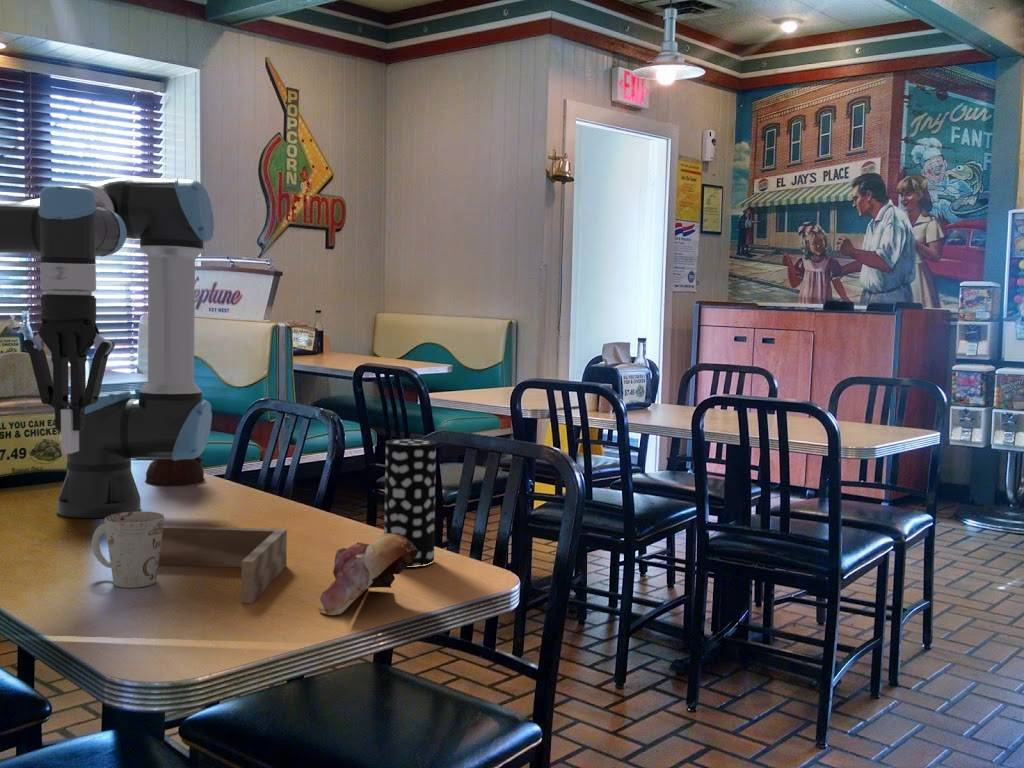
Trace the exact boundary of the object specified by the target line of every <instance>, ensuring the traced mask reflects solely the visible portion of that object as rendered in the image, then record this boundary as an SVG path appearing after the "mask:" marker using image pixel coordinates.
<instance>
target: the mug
mask: <svg viewBox="0 0 1024 768" xmlns="http://www.w3.org/2000/svg"><path fill="white" fill-rule="evenodd" d="M164 521H165V515H164V514H162V513H161V512H160V513H159V512H156V511H141V510H139V511H137V512H124V513H117V514H113V515H109V516H107V517H106V518H104V523H102V524H100V525H98V527H97V528H96V529H95V530H94V532H93V535H92V537H91V549H92V553H93V556H94V557H95V558H96V559H97V561H98V562H100V564H101V565H102V566H104V567H105V568H109V569H111V576H112V582H113V585H114V586H115V587H118V588H123V589H124V588H125V589H135V588H142V587H144V588H145V587H149V586H152V585H154V584H156V582H157V579H158V578H157V577H158V571H159V565H158V564H159V556H160V548H161V541H162V533H163V526H165V525H164V524H165V522H164ZM104 534H106V541H107V547H108V554H109V555H108V556H109V560H108V559H106V557H104V555H103V554H102V552H101V548H100V541H101V540H100V539H101V538H102V536H103V535H104Z"/></svg>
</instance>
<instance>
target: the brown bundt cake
mask: <svg viewBox="0 0 1024 768" xmlns="http://www.w3.org/2000/svg"><path fill="white" fill-rule="evenodd" d="M203 460H204V458H203V457H201V456H200V455H199V456H198V457H197V458H194V459H179V460H176V461H174V460H173V459H153V460H152V461H151V462H150V463H149V466H148V468H146V469H147V470H146V472H145V474H146V475H145V480H144V483H145V484H147V485H150V486H158V487H185V486H193V485H192V484H194V485H198V484H197V483H199V484H202V483H204V482H205V481H206V479H205V477H204V476H205V475H204V474H205V473H204V468H203V466H202V464H201V463H202V461H203ZM203 481H204V482H203ZM201 482H202V483H201Z"/></svg>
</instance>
